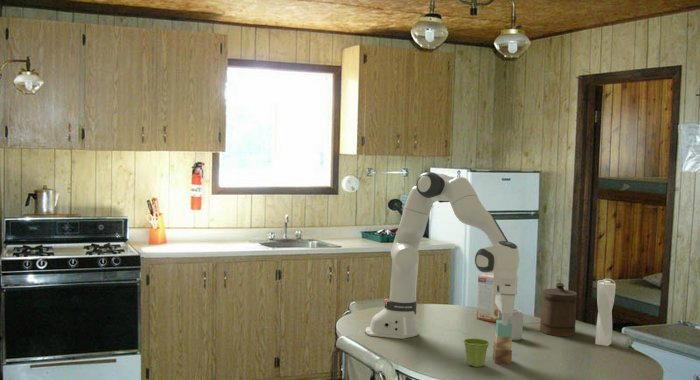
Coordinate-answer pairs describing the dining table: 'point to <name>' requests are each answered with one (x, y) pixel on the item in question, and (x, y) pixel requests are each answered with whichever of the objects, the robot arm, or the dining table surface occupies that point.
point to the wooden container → (558, 311)
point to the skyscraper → (604, 311)
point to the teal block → (503, 329)
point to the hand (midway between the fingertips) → (502, 321)
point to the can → (516, 324)
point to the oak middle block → (502, 343)
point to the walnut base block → (502, 356)
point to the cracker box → (486, 299)
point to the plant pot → (476, 351)
